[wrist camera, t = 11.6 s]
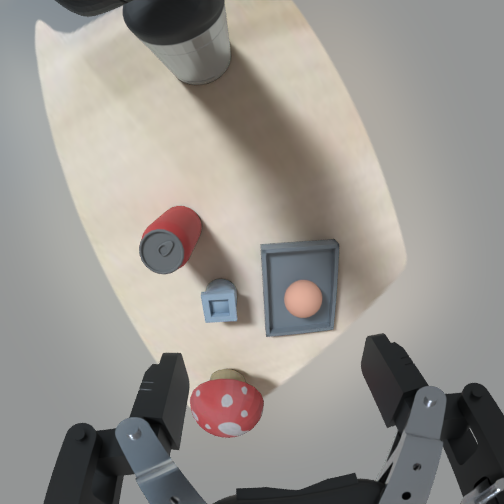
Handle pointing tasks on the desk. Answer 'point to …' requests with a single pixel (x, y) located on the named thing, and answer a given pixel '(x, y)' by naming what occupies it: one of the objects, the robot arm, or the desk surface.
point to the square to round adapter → (220, 301)
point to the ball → (303, 298)
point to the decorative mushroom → (226, 404)
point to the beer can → (170, 240)
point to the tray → (293, 269)
